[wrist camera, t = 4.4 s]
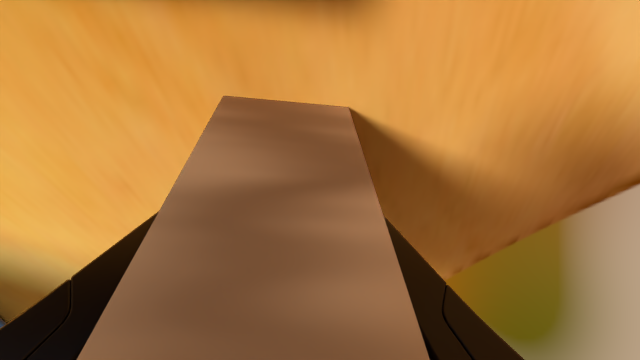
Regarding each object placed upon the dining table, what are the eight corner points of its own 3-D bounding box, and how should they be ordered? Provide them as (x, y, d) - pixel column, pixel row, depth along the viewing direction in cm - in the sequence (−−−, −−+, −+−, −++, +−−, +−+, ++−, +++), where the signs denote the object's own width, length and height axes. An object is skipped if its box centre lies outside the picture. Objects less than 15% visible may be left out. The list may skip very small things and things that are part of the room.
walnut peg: (348, 107, 9) (451, 428, 3) (330, 197, 12) (366, 473, 5) (223, 95, 9) (27, 448, 2) (232, 191, 11) (147, 488, 5)
